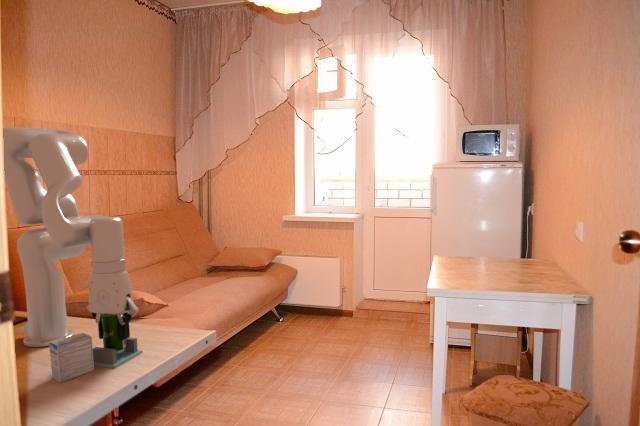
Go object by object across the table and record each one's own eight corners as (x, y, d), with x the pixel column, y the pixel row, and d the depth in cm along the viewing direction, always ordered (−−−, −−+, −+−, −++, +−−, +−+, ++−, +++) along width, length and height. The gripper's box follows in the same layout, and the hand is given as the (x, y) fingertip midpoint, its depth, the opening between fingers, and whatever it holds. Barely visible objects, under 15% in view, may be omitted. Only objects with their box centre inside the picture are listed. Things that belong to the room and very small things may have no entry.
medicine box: (85, 367, 118) (83, 332, 117) (94, 371, 115) (92, 335, 115) (51, 378, 112) (48, 342, 111) (60, 383, 109) (57, 346, 108)
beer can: (129, 345, 126) (126, 300, 125) (124, 353, 120) (121, 306, 119) (107, 347, 125) (103, 301, 124) (101, 355, 120) (97, 307, 118)
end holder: (88, 364, 119) (87, 349, 119) (117, 350, 129) (115, 335, 128) (115, 368, 117) (114, 352, 116) (142, 352, 126) (141, 337, 126)
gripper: (69, 268, 120) (75, 340, 121) (127, 271, 114) (133, 346, 116) (92, 262, 127) (98, 330, 128) (148, 264, 121) (152, 335, 123)
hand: (114, 337), depth 122 cm, fingers closed on beer can, 5 cm apart
